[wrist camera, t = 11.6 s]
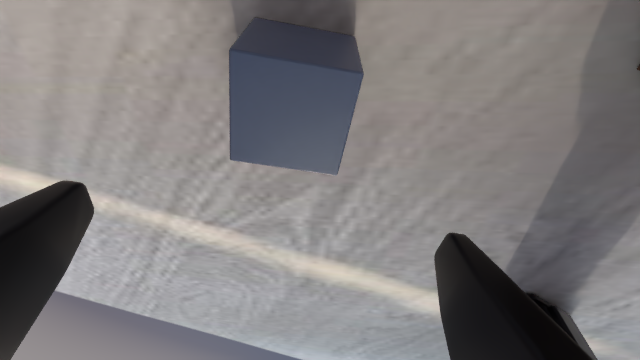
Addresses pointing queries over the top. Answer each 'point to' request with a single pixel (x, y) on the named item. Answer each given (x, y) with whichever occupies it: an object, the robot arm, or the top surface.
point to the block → (292, 95)
